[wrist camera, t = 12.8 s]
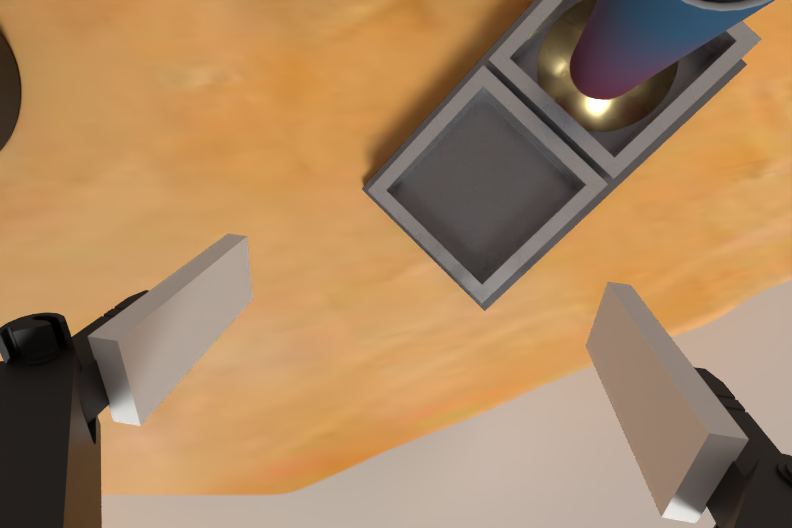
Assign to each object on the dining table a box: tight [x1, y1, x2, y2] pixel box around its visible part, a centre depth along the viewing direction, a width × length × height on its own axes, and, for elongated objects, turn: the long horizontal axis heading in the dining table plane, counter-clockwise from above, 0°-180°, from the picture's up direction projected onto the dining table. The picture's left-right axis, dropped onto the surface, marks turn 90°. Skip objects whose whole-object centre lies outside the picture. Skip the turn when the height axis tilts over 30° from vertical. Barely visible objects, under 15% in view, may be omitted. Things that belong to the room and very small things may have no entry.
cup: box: [570, 0, 774, 100], centre depth 23 cm, size 7×7×15 cm
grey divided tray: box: [362, 0, 761, 311], centre depth 31 cm, size 14×25×4 cm, turn 136°
